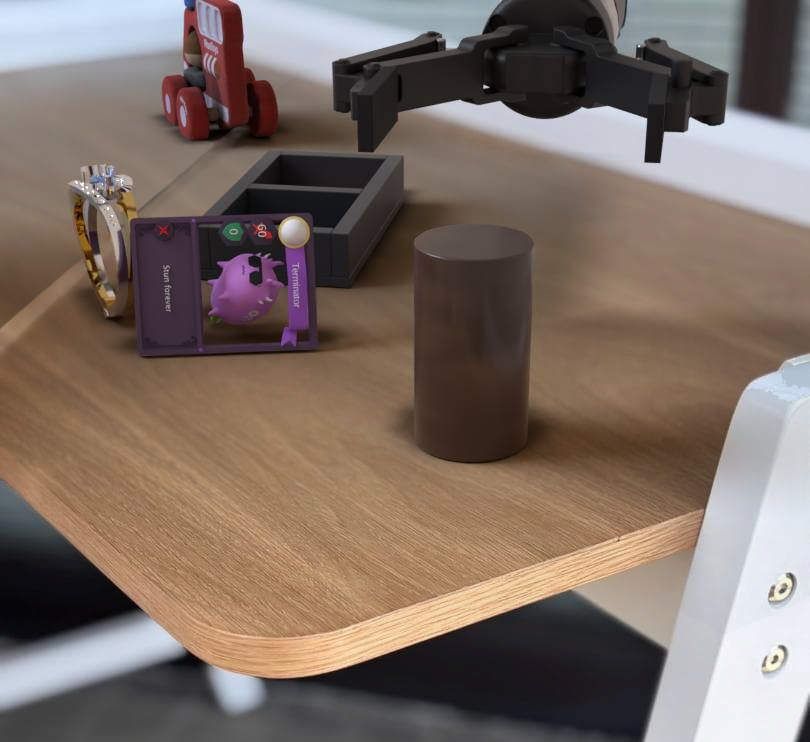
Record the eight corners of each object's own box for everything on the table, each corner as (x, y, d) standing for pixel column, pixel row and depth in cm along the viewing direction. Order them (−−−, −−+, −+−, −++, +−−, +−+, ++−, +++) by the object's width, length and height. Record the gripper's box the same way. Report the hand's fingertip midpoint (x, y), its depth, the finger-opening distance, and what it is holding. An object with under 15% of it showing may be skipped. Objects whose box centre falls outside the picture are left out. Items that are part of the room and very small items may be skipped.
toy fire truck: (240, 110, 122) (232, -26, 117) (286, 145, 111) (280, -1, 106) (156, 118, 119) (144, -20, 114) (195, 155, 109) (185, 5, 104)
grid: (194, 279, 85) (190, 226, 84) (271, 196, 100) (269, 149, 98) (349, 288, 84) (348, 234, 82) (404, 202, 98) (403, 155, 97)
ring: (68, 300, 82) (51, 154, 78) (125, 291, 83) (111, 147, 80) (100, 342, 77) (83, 188, 73) (160, 333, 78) (147, 180, 74)
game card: (127, 217, 73) (312, 211, 74) (137, 222, 78) (310, 217, 79) (136, 356, 74) (318, 349, 75) (145, 352, 79) (316, 346, 80)
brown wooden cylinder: (404, 458, 65) (404, 256, 60) (424, 411, 69) (424, 220, 65) (520, 467, 64) (527, 263, 59) (532, 419, 68) (540, 226, 64)
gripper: (760, 112, 88) (771, 218, 70) (345, 99, 92) (254, 196, 74) (774, -22, 84) (789, 52, 66) (342, -30, 88) (244, 39, 70)
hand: (507, 129), depth 70 cm, fingers open, 13 cm apart
